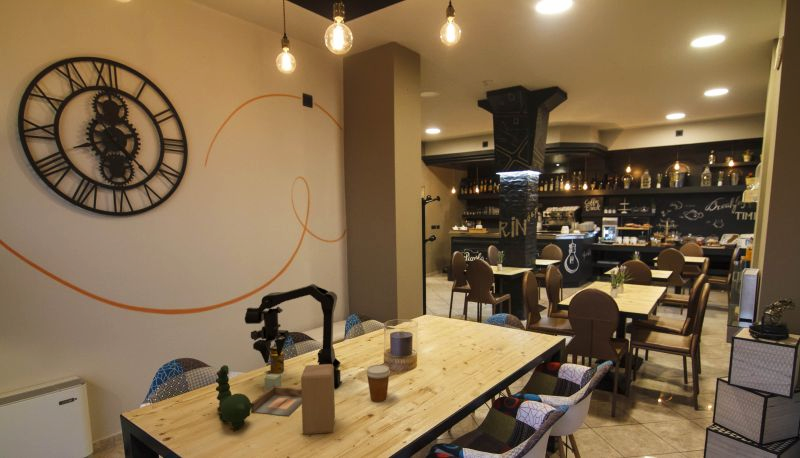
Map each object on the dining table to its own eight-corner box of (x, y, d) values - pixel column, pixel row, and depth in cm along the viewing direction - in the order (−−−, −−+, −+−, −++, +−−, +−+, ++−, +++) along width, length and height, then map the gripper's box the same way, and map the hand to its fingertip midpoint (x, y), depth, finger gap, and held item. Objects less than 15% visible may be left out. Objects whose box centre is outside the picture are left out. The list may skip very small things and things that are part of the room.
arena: (307, 397, 158) (307, 389, 158) (288, 416, 143) (288, 407, 143) (273, 394, 162) (273, 385, 162) (251, 412, 147) (250, 403, 147)
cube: (281, 385, 170) (281, 373, 170) (275, 390, 165) (274, 378, 165) (271, 384, 171) (270, 373, 171) (264, 389, 166) (264, 377, 166)
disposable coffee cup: (372, 406, 150) (371, 375, 149) (362, 396, 158) (362, 366, 158) (395, 400, 154) (394, 370, 154) (384, 391, 163) (383, 362, 162)
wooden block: (306, 420, 141) (305, 364, 140) (335, 418, 142) (333, 362, 141) (302, 435, 131) (300, 375, 130) (332, 433, 132) (331, 374, 131)
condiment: (286, 373, 184) (286, 347, 184) (268, 377, 179) (267, 351, 179) (282, 368, 190) (281, 343, 190) (263, 372, 185) (263, 346, 185)
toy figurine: (210, 417, 147) (229, 440, 128) (207, 365, 148) (226, 380, 129) (236, 409, 153) (259, 429, 134) (233, 359, 154) (255, 372, 135)
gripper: (267, 317, 181) (269, 350, 181) (240, 328, 163) (242, 366, 163) (289, 317, 178) (290, 352, 178) (264, 329, 160) (266, 368, 160)
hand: (272, 359), depth 170 cm, fingers open, 9 cm apart
